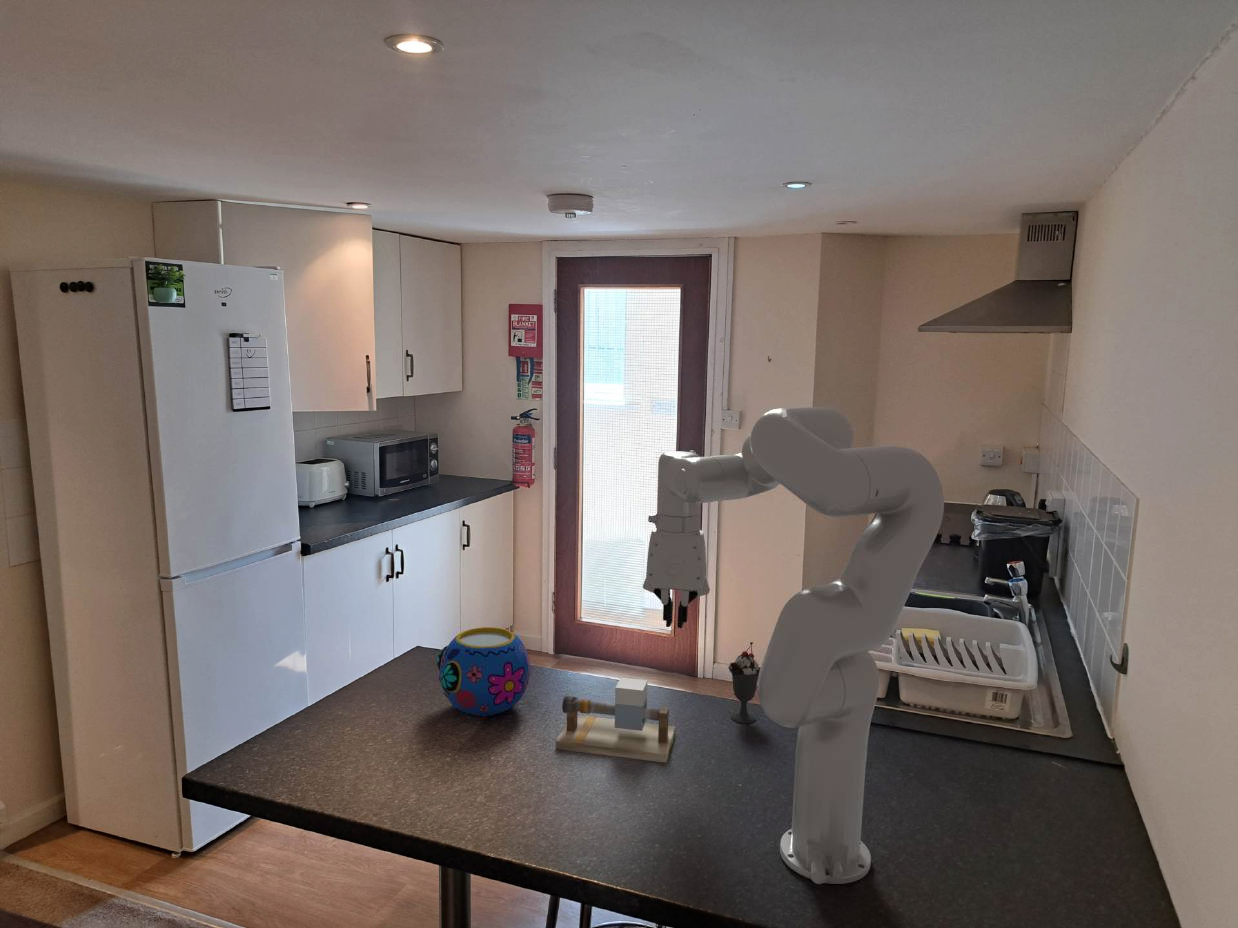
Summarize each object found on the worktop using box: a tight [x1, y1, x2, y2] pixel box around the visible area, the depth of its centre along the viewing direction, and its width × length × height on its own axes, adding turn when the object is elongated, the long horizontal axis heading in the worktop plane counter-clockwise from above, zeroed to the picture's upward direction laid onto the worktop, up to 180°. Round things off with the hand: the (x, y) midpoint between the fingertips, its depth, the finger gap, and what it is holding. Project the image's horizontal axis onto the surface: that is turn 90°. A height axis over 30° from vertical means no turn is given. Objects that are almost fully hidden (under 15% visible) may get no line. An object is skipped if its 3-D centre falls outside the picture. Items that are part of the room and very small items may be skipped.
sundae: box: [727, 641, 761, 725], centre depth 159 cm, size 7×7×15 cm
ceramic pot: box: [436, 626, 532, 716], centre depth 161 cm, size 18×18×15 cm
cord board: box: [555, 695, 676, 764], centre depth 149 cm, size 11×20×8 cm, turn 78°
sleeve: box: [614, 677, 649, 731], centre depth 148 cm, size 5×5×8 cm
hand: (674, 624), depth 144 cm, fingers closed
